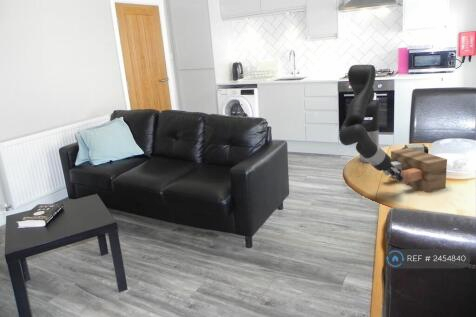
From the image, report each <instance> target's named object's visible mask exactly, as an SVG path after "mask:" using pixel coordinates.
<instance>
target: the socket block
mask: <svg viewBox="0 0 476 317" xmlns="http://www.w3.org/2000/svg"><path fill="white" fill-rule="evenodd" d="M403 148H404V147H403ZM390 158H391V162H395V161H399V162H402V163H403V170H408V169H413V168H419V169H422V170H423V173H422V179H420V180H416V181H412V182H409V183H405V182H403V181H402V180H401V181H400V182H402V183H403V184H406V185H408V186H411V187H413V188H416V189H418V190H421V191H423V192H425V193H431V192H434V191H438V190H441V189H445V188H446V186H447V168H448V158H444V157H441V156H438V155H434V154H432V153H431V154H430V153H429V152H428V153H425V152H421V151H418V150H415V149H411V148H404V149H402V148H400V149H396V150H391V151H390ZM400 175H401V174H400ZM390 178H392V179H393V180H396V179H395V178H394V177H393V176H391V175H390Z"/></svg>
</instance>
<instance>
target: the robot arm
mask: <svg viewBox="0 0 476 317" xmlns="http://www.w3.org/2000/svg"><path fill="white" fill-rule="evenodd" d="M347 78H348V84H349V86H350V88H351V89H352V92H353V96H354V98H353V99H352V100H350V103H349V104H348V107H347V114H346V118H345V119H344V121H343V122H342V125H341V127H340V129H339V132H338V139H339V141H340V143H341V144H342V145H344V146H350V145H354V144H355V150H356V151H357V152H358V154H359V160H360V162H362V163H365V164H368V163H369V164H370V166H372V167H373V168H374V169H375V170H376V171H381V172H383V171H384V172H386V173H387V174H390V175H389V176H390V177H391V176H393V177H394V178H395V179H394V178H393V179H394V180H396V181H397V182H401V180H402V179H403V177H402V176H401V175H400V174H401V170H400V169H396V168H395V167H394V165H393V164H392V163H391V155H388V153H387V152H386V151H384V150H383V149H382V148H381V147H380V146H379V141H380V140H379V139H380V138H379V134H380V131H379V130H380V128H379V125H380V124H379V115H380V102H379V100H378V99H375V90H374V85H375V81H376V67H375V65H373V64H353V65H351V66H350V67H349V69H348V73H347ZM365 118H372V119H371V120H369V121H367V122H365ZM384 172H383V173H384Z"/></svg>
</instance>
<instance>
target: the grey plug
mask: <svg viewBox="0 0 476 317" xmlns="http://www.w3.org/2000/svg"><path fill="white" fill-rule="evenodd" d="M391 163H392V164H393V165H394V167H395V168H396V169H400V170H401V172H402V171H403V163H402V162H399V161H395V162H391ZM382 172H383V173H384V175H385V176H391V175H390V174H387V173H386V172H384V171H383V170H382Z"/></svg>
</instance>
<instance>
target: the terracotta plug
mask: <svg viewBox="0 0 476 317" xmlns="http://www.w3.org/2000/svg"><path fill="white" fill-rule="evenodd" d="M422 173H423V170H422V169H419V168H413V169H408V170H403V171H402V172H401V176H402V177H403V179H402V181H403V182H405V183H404V184H406V183H409V182H412V181H416V180H420V179H422ZM403 182H402V183H403Z"/></svg>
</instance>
